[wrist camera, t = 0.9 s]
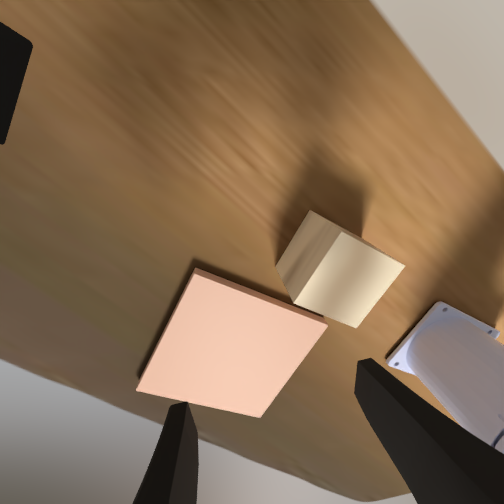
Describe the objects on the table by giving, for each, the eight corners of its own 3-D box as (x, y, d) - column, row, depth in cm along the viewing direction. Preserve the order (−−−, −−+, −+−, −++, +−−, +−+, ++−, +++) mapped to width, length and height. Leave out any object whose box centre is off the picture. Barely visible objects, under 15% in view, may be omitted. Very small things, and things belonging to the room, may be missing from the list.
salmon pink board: (323, 317, 22) (328, 325, 21) (258, 408, 26) (259, 417, 25) (195, 267, 18) (194, 273, 18) (138, 380, 22) (135, 390, 21)
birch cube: (360, 237, 20) (405, 265, 15) (325, 288, 21) (356, 328, 17) (309, 209, 18) (341, 231, 14) (274, 266, 20) (293, 303, 15)
